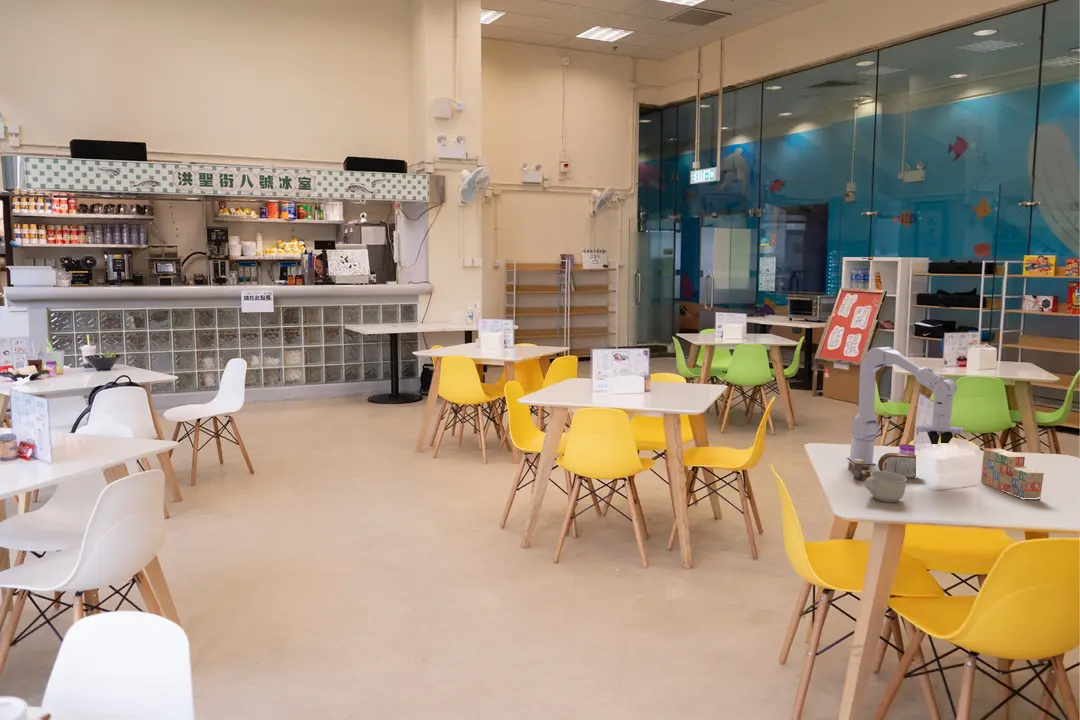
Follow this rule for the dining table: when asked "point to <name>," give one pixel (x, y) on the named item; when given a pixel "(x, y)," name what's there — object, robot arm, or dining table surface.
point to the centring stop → (859, 469)
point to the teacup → (886, 485)
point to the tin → (899, 464)
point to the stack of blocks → (1010, 474)
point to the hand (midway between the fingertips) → (938, 452)
